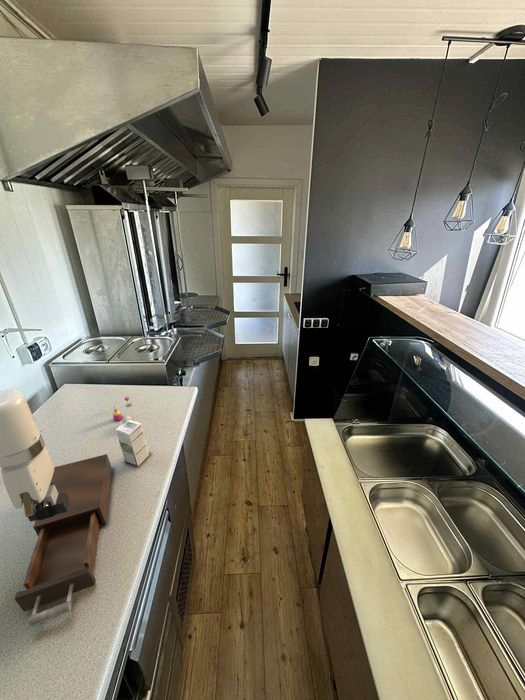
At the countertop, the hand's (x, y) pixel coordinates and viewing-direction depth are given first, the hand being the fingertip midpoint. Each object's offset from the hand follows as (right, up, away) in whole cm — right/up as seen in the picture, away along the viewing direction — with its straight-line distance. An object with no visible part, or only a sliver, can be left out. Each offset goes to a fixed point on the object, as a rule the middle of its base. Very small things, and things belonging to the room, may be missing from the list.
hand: (49, 509), depth 65 cm
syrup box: (+5, -2, +34) cm, 34 cm away
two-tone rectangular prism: (0, -1, 0) cm, 1 cm away
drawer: (+2, -15, +3) cm, 16 cm away
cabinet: (-5, -9, +19) cm, 21 cm away
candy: (-8, +8, +53) cm, 55 cm away
